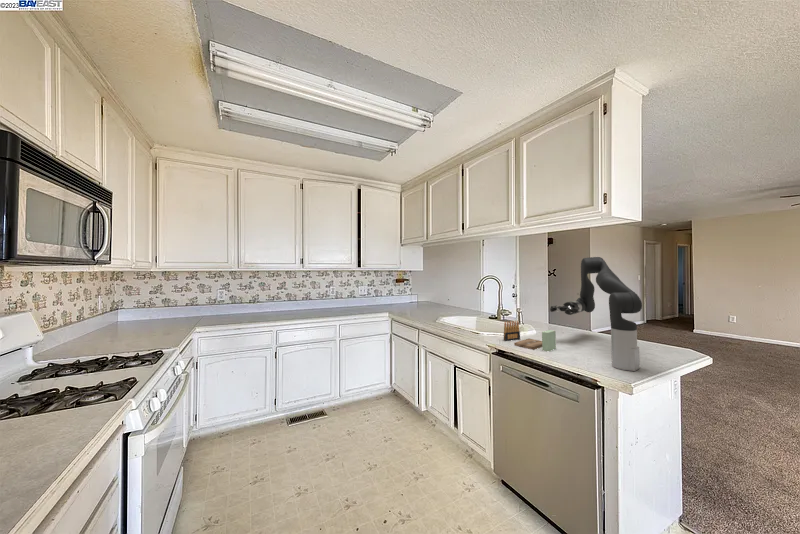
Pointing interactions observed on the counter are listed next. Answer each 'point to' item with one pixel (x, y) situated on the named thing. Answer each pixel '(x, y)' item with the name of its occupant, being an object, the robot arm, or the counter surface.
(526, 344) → the bolt board
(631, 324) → the robot arm
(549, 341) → the green bar
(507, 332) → the ammunition clip
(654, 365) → the counter surface
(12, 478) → the counter surface
